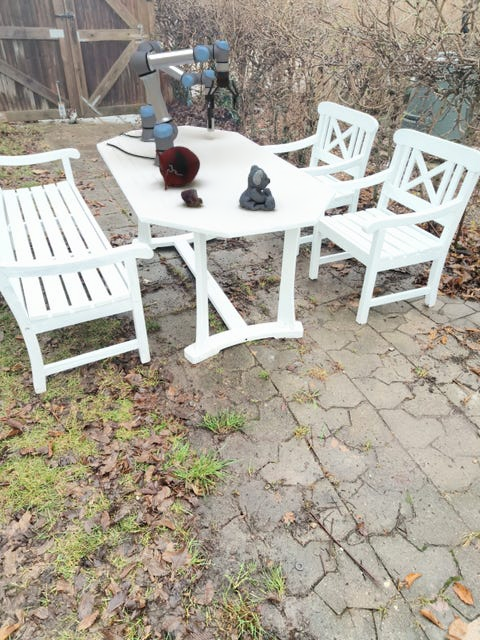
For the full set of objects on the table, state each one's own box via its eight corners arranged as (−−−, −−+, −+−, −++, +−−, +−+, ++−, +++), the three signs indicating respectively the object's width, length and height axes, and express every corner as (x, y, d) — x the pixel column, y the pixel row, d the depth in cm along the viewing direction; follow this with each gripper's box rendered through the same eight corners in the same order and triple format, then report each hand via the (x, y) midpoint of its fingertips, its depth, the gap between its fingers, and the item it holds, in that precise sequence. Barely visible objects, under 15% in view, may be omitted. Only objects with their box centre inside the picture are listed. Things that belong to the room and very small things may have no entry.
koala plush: (276, 211, 223) (277, 171, 212) (240, 212, 222) (240, 172, 211) (271, 199, 237) (272, 161, 226) (237, 200, 236) (237, 162, 225)
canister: (214, 131, 343) (213, 119, 338) (207, 131, 343) (206, 119, 338) (214, 130, 347) (214, 117, 342) (207, 130, 347) (207, 117, 342)
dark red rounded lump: (157, 151, 264) (151, 150, 240) (196, 143, 263) (194, 140, 240) (167, 188, 271) (161, 190, 247) (205, 180, 270) (203, 181, 246)
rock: (196, 202, 238) (178, 205, 233) (194, 185, 234) (176, 188, 230) (205, 205, 228) (187, 208, 224) (203, 188, 224) (185, 191, 220)
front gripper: (243, 70, 275) (244, 108, 287) (204, 70, 279) (206, 107, 291) (241, 71, 269) (242, 110, 281) (201, 71, 273) (203, 109, 285)
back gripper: (213, 96, 323) (213, 130, 336) (216, 92, 338) (217, 125, 351) (202, 96, 323) (203, 130, 337) (206, 92, 338) (207, 125, 352)
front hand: (223, 108), depth 286 cm, fingers open, 13 cm apart
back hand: (210, 127), depth 344 cm, fingers closed on canister, 5 cm apart
